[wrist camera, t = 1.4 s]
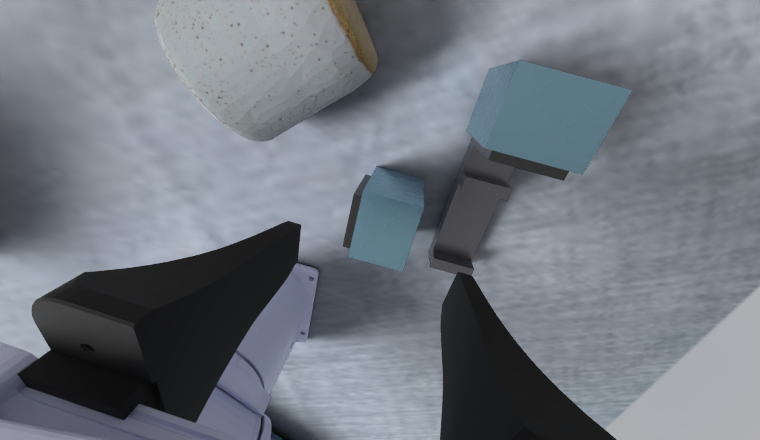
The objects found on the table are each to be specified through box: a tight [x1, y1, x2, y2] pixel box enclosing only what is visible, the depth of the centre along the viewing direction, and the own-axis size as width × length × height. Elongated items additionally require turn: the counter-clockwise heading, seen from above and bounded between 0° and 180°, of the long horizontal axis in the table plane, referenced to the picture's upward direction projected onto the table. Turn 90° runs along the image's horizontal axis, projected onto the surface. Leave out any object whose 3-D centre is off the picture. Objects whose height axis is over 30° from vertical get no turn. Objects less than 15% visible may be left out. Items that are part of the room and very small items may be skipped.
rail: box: [429, 60, 632, 275], centre depth 17 cm, size 14×4×7 cm, turn 166°
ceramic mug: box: [154, 0, 378, 141], centre depth 14 cm, size 11×8×8 cm
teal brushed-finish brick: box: [343, 166, 424, 272], centre depth 19 cm, size 4×4×6 cm
